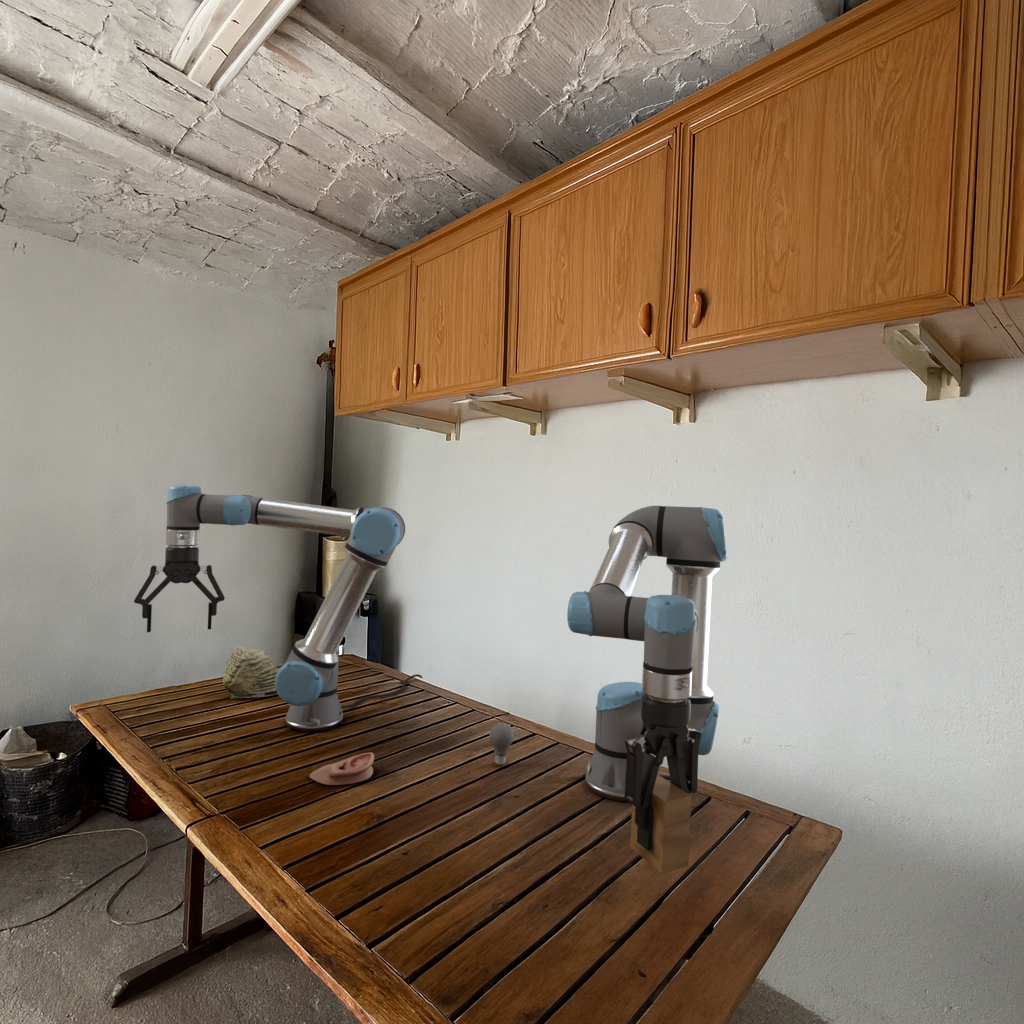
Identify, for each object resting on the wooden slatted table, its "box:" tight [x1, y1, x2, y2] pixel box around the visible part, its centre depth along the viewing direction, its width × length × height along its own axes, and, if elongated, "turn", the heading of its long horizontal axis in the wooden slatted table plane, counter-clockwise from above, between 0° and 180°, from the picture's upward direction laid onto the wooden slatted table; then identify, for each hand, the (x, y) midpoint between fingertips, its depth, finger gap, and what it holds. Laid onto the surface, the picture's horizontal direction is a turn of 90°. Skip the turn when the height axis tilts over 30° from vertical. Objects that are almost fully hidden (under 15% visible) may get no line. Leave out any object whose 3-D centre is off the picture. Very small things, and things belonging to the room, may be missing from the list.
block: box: [629, 774, 693, 875], centre depth 100 cm, size 8×5×11 cm
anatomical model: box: [308, 751, 375, 786], centre depth 144 cm, size 13×4×12 cm
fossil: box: [222, 646, 280, 699], centre depth 198 cm, size 9×18×15 cm, turn 132°
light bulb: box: [488, 722, 515, 766], centre depth 154 cm, size 6×6×10 cm
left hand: (179, 629), depth 161 cm, fingers open, 13 cm apart
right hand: (659, 841), depth 100 cm, fingers closed on block, 5 cm apart
